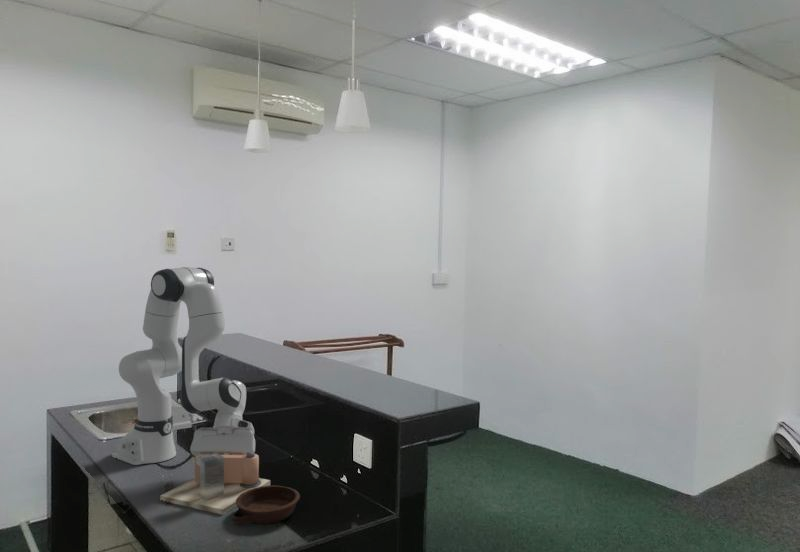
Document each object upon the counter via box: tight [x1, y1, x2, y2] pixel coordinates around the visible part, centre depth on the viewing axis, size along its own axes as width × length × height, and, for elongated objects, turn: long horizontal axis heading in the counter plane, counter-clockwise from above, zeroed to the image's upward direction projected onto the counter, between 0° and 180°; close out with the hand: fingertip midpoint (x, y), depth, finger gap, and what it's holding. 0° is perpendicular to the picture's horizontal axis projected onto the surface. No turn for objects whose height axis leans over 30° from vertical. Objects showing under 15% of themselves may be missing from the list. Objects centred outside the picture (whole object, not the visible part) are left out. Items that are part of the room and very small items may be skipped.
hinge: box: [171, 405, 193, 431], centre depth 243 cm, size 17×5×10 cm, turn 127°
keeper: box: [197, 454, 224, 500], centre depth 174 cm, size 6×5×12 cm
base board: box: [159, 477, 271, 516], centre depth 180 cm, size 23×23×2 cm
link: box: [194, 451, 260, 485], centre depth 183 cm, size 20×5×9 cm, turn 90°
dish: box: [231, 484, 301, 525], centre depth 166 cm, size 18×22×5 cm
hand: (219, 467), depth 185 cm, fingers closed, pressing on link
